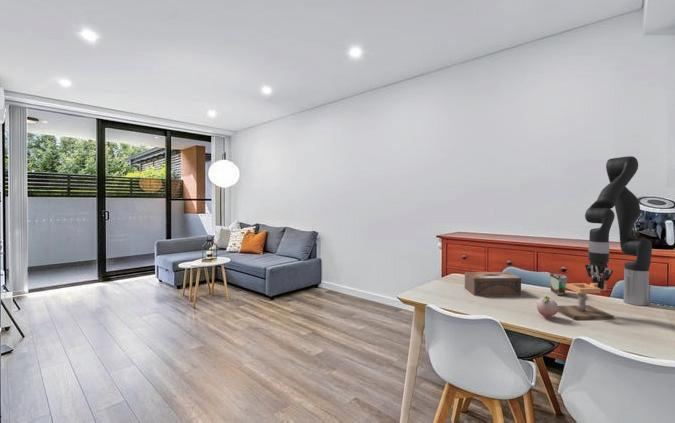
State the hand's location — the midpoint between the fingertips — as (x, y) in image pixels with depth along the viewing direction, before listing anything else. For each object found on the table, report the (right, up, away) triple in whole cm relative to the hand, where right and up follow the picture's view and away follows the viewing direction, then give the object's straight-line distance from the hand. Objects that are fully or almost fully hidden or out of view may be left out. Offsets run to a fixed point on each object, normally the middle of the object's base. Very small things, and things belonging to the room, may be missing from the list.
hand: (597, 287), depth 152 cm
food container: (+4, -11, +32) cm, 34 cm away
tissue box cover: (-32, -11, +37) cm, 50 cm away
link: (-4, -1, 0) cm, 4 cm away
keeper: (-7, -12, 0) cm, 14 cm away
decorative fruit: (-26, -13, -4) cm, 29 cm away
